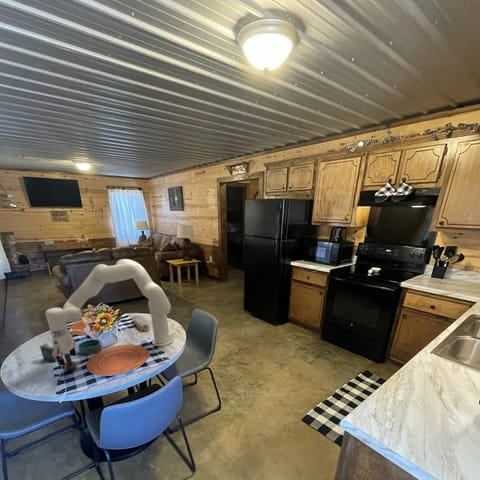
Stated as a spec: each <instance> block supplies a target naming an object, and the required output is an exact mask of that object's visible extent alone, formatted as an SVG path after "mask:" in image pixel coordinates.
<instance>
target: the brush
mask: <svg viewBox="0 0 480 480" xmlns="http://www.w3.org/2000/svg"><path fill="white" fill-rule="evenodd" d="M63 358H64V361H65V365H63V368H64V371H65V372H66V373H70V372H74V371H76V370H77V362H76V361H74V360H72V356H70V353H69V352H67V353H66V354H63Z"/></svg>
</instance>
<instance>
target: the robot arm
mask: <svg viewBox="0 0 480 480" xmlns="http://www.w3.org/2000/svg"><path fill="white" fill-rule="evenodd" d="M130 279H133V281H134V282H135V283H136V285H137V287H138V288H139V290H140V292H141V294H142V295H143V296H144V297H145V298H147V299H148V303H147V304H148V309H149V313H150V317H151V318H150V319H151V325H152V332H153V339H152V340H151V341H152V344H153V346H156V347H165V346H168V345H170V344H171V343H172V342H173V338H172V336H174V335H175V332H174V331H172V332H170V331H169V323H168V314H169V313H170V312H171V310H172V304H171V303H170V300H169V299H168V297H167V295H166V293H165V292H164V290H163V289H162V287H161V286H159V285H158V284H157V283H155V282H154V281H153V280H152V278H151V276H150V275H149V273H148V271H147V270H146V268H145V267H144V266H142V265H141V264H140V263H138V262H137V261H135V260H132V259H129V258H121V259H119V260H117V261H116V263H115V264H114V265H107V264H104V263H99V264H97V265H95V266H94V268H93V269H92V270H91V271H90V273H89V274H88V276H87V277H86V279H84V281H83V283H81V285H80V286H79V287H78V288H77V289H76V290H75V291H74V292H73V293H72V294H71V295H70V296H69V297H68V299H67V300H66V302H65V303H64V305H63V307H62V308H61V307H51V308H48V309H46V310H45V313H44V314H45V318H46V321H47V324H48V328H49V331H50V334H51V341H52V346H53V347H54V352H53V354H52V356H53V357H54V358H55V359H57V361H56V362H57V364H58V366H64V365H65V363H66V360H65V357H64V354H66V353H70V357H76V356H77V352H76V339H75V338H73V335H72V333H71V331H70V330H69V327H68V323H71V322H77V321H79V320H81V319H82V317H83V312H82V310H81V308H82V307H83V305H84V304H85V303H86V302H87V301H88V300H89V299H91V298H94V297H96V296H97V295H98V294H99V293H100V291H101V290H102V289H103V287H105V284H110V283H116V282H122V281H127V280H130Z"/></svg>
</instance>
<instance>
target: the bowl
mask: <svg viewBox="0 0 480 480" xmlns="http://www.w3.org/2000/svg"><path fill="white" fill-rule="evenodd" d="M102 346H103V345H102V342H101V340H99V339H87V340H84V341H82V342H80V343H79V344H78V345H77V348H78V352H79V354H81V355H83V356H85V355H86V356H88V355H95V354H96V353H99V352H100V351H101V350H102V348H103V347H102Z"/></svg>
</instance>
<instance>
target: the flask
mask: <svg viewBox="0 0 480 480" xmlns="http://www.w3.org/2000/svg"><path fill="white" fill-rule="evenodd" d="M39 348H40V351H41V354H42V358H43V361H45V362H52V363H54V362H58V361H57V359H55V358H54V357H53V356H52V354H53V352H54V347H53V345H52V346H50V345H48V343H43V344H41V345H40V346H39Z"/></svg>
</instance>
